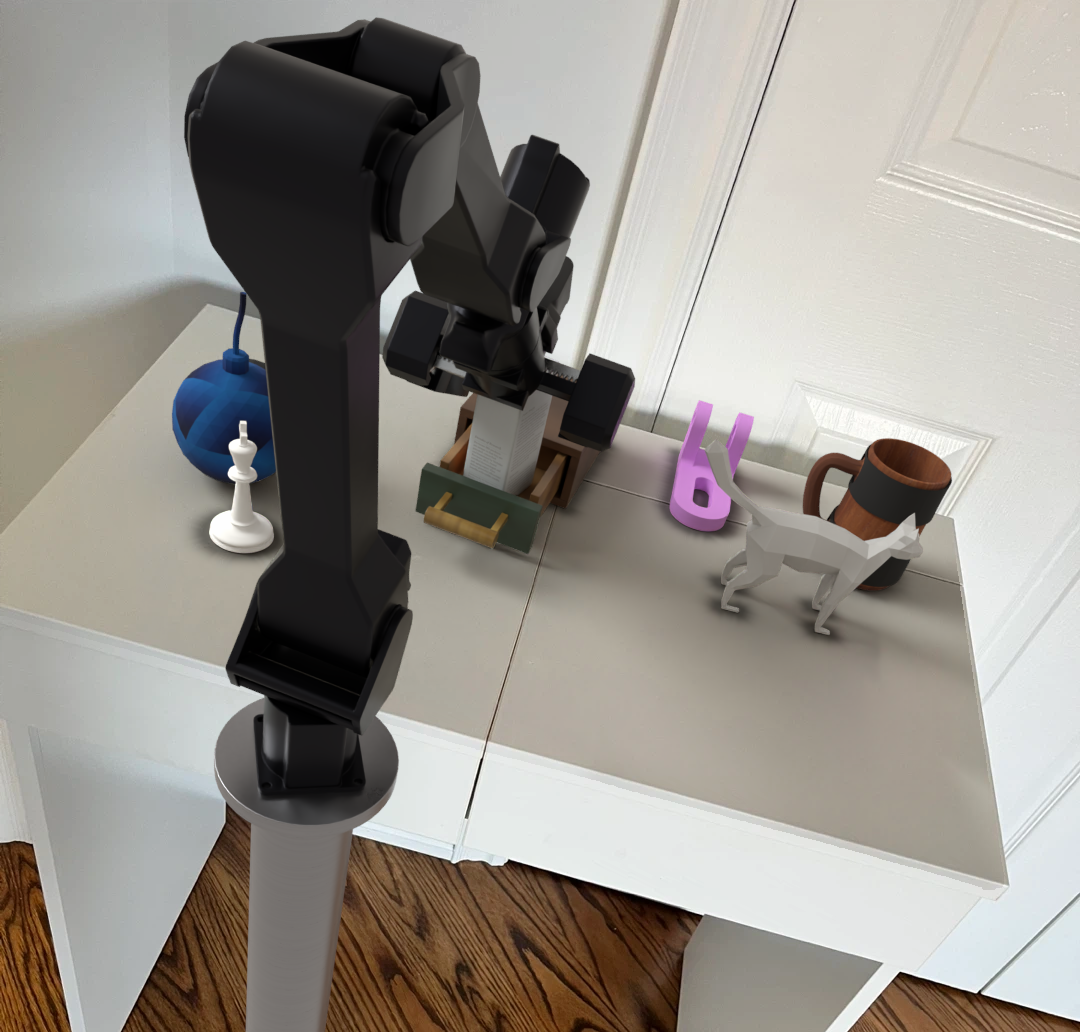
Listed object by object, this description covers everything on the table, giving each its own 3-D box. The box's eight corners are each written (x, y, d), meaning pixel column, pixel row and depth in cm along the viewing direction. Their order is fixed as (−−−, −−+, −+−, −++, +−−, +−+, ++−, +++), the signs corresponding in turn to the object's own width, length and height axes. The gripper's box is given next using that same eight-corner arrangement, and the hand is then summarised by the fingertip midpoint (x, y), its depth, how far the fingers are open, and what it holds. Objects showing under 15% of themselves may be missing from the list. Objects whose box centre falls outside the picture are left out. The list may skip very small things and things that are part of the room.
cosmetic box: (492, 465, 92) (518, 340, 84) (532, 485, 91) (562, 361, 83) (457, 492, 88) (480, 363, 79) (498, 513, 87) (527, 385, 79)
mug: (782, 517, 101) (830, 411, 93) (897, 556, 100) (956, 453, 92) (774, 563, 94) (825, 454, 86) (897, 605, 94) (960, 500, 86)
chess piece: (211, 553, 78) (209, 439, 71) (207, 515, 81) (206, 402, 74) (276, 553, 80) (281, 442, 73) (270, 516, 83) (274, 406, 76)
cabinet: (565, 509, 93) (582, 451, 89) (449, 465, 94) (460, 406, 90) (604, 445, 103) (620, 390, 99) (498, 406, 104) (510, 350, 100)
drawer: (511, 581, 82) (522, 538, 79) (394, 536, 83) (400, 492, 80) (569, 486, 94) (580, 446, 92) (466, 448, 95) (474, 406, 92)
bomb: (310, 452, 91) (321, 288, 80) (275, 519, 83) (282, 346, 73) (201, 426, 90) (198, 256, 80) (156, 490, 82) (145, 311, 72)
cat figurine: (875, 650, 88) (955, 516, 79) (654, 593, 87) (709, 450, 77) (869, 618, 92) (946, 486, 82) (657, 563, 90) (709, 422, 81)
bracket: (678, 455, 105) (700, 393, 100) (730, 470, 105) (754, 410, 100) (666, 520, 96) (690, 456, 91) (723, 537, 96) (749, 474, 91)
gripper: (667, 267, 69) (655, 358, 85) (417, 179, 71) (450, 284, 86) (608, 417, 69) (607, 481, 85) (358, 326, 71) (402, 405, 86)
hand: (517, 409), depth 85 cm, fingers open, 9 cm apart
